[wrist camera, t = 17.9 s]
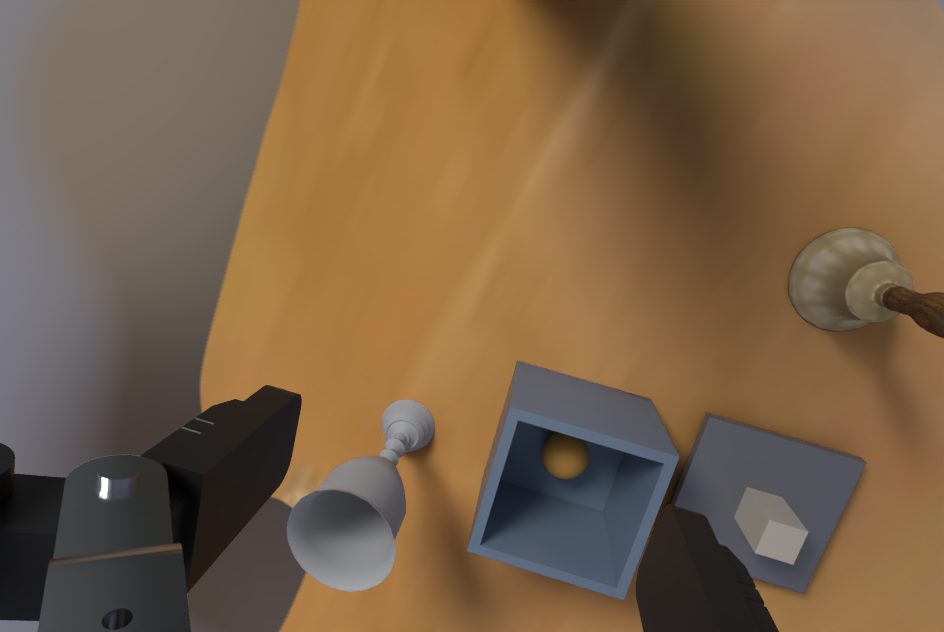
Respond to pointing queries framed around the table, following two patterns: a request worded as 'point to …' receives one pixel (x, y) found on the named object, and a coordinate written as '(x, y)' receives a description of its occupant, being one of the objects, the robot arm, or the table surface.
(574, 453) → the ball
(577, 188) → the table surface
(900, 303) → the hand bell
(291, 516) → the chalice
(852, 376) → the table surface
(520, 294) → the table surface
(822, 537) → the lid
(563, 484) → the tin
